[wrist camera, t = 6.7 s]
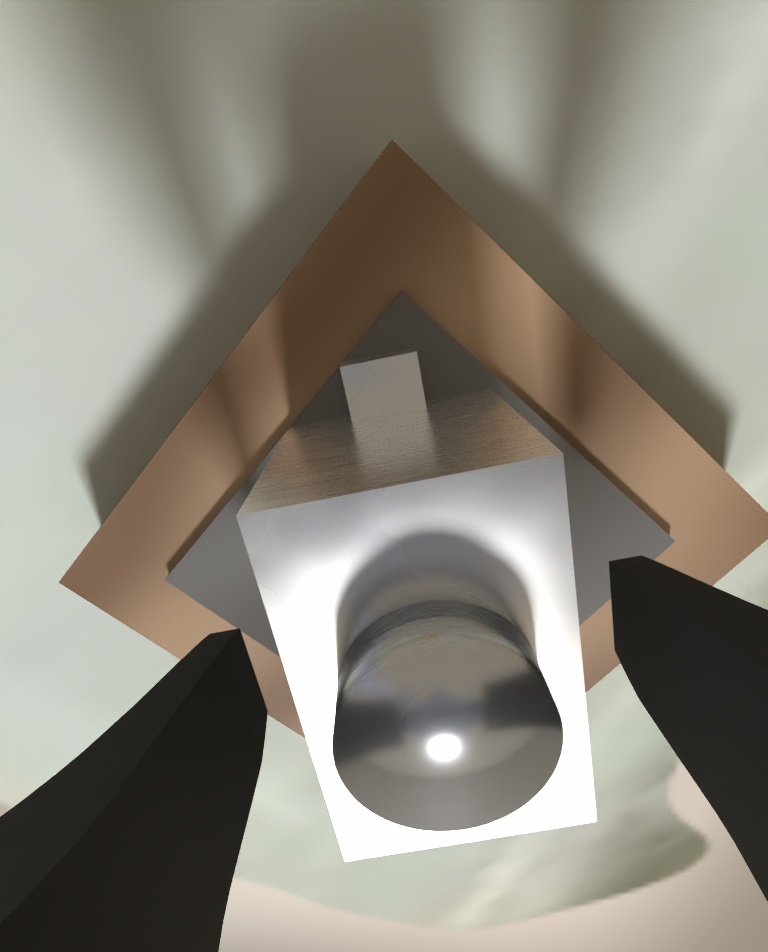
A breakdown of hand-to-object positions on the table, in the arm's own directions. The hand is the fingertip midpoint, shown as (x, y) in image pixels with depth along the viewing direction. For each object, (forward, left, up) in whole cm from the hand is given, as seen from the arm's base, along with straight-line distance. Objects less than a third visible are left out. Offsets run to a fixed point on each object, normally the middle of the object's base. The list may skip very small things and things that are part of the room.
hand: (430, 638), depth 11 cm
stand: (0, 0, -6) cm, 6 cm away
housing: (0, 0, -3) cm, 3 cm away
